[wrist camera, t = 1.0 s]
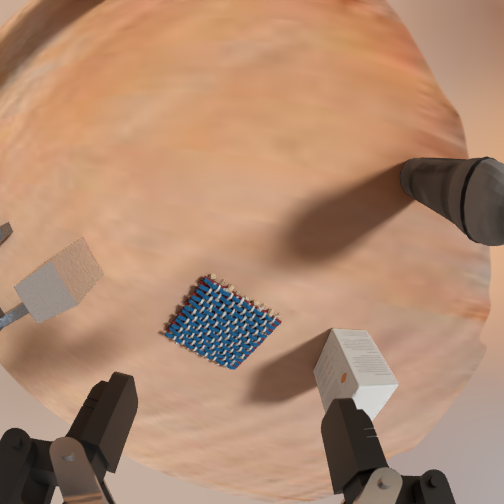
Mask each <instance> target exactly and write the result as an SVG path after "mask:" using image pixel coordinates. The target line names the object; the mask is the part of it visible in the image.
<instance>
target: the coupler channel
mask: <svg viewBox="0 0 504 504" xmlns="http://www.w3.org/2000/svg"><path fill="white" fill-rule="evenodd" d="M12 232H13V231H12V228H11V226H10V224H9V222H8V223H6V224H4V225H2V226H0V244H1V243H2V242H3V241H4V240H5V239H6V238H7V237H8V236H9V235H10V234H11V233H12ZM28 313H30V312H29V311H28V309H27V308H26V306H25V305H24V303H23V302H22V303H20V304H19V305H17V306H16V307H14V308H13V309H11V310H10V311H8V312H6V313H5V314H4V313H3V311H2V310H1V308H0V331H1V329H2V328H4V327H5V326H7V325H9V324H10V323H12V322H14V321H16V320H17V319H19V318H21V317H23V316H25V315H26V314H28Z"/></svg>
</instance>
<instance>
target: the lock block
mask: <svg viewBox="0 0 504 504" xmlns="http://www.w3.org/2000/svg"><path fill="white" fill-rule="evenodd" d="M103 275H104V272H103V271H102V269H101V267H100V266H99V264H98V262H97V261H96V259H95V257H94V255H93V254H92V252H91V250H90V248H89V246H88V245H87V243H86V241H85V239H84V237H82V238H81V239H79V240H77V241H76V242H74V243H73V244H71V245H69V246H68V247H66V248H65V249H63V250H62V251H60V252H59V253H57V254H56V255H54V256H53V257H51V258H50V259H48V260H47V261H45V262H44V263H43V264H41V265H40V266H39V267H38V268H36V269H35V270H34V271H33V272H31V273H30V274H29V275H28V276H26V277H25V278H24V279H23V280H22V281H20V282H19V283H18V284H17V285H16V286H15V287H14V288H15V290H16V292H17V293H18V295H19V297H20V298H21V300H22V302H23V303H24V305H25V306H26V308H27V309H28V311H29V312H30V314H31V315H32V317H33V318H34V320H35V321H36V323H37V324H39V323H41V322H43V321H45V320H47V319H49V318H51V317H53V316H55V315H58V314H60V313H62V312H64V311H66V310H68V309H70V308H73V307H75V306H77V305H78V304H79V303H80V302H81V301H82V299H83V298H84V297H85V296H86V295H87V293H88V292H89V291H90V290H91V289H92V288H93V286H94V285H95V284H96V283H97V282H98V281H99V279H100V278H101V277H102V276H103Z"/></svg>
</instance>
